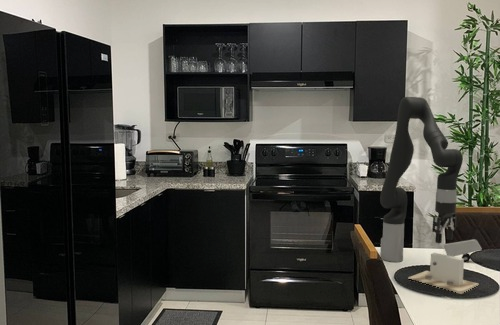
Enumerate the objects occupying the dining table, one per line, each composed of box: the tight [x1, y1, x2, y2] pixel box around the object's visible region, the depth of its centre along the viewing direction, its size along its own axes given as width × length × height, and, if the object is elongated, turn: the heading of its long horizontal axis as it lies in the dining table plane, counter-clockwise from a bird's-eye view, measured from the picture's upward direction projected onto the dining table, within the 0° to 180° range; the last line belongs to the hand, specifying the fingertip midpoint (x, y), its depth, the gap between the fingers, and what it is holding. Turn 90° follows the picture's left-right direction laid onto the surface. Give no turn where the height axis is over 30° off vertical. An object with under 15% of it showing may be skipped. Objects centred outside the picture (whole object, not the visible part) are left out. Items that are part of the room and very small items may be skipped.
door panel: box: [429, 252, 465, 286], centre depth 196 cm, size 12×4×10 cm, turn 41°
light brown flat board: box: [407, 270, 480, 295], centre depth 198 cm, size 22×14×2 cm, turn 41°
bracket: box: [443, 238, 483, 263], centre depth 229 cm, size 4×10×15 cm
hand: (443, 241), depth 197 cm, fingers open, 8 cm apart
